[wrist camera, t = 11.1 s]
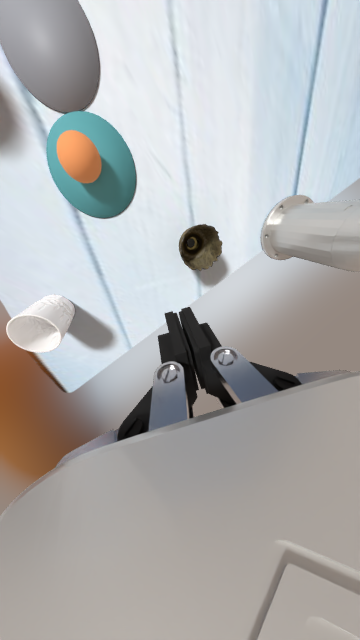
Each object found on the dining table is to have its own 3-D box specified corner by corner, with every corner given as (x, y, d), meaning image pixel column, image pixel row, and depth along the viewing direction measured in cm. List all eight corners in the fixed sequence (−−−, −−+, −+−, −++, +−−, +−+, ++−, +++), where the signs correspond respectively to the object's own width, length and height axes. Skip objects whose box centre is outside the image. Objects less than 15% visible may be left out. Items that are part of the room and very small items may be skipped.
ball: (110, 181, 26) (107, 170, 29) (86, 127, 21) (85, 120, 24) (75, 194, 26) (75, 182, 29) (43, 143, 21) (48, 134, 24)
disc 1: (72, -44, 19) (72, -46, 19) (112, 105, 25) (111, 104, 25) (-32, -31, 18) (-34, -33, 18) (34, 119, 24) (33, 118, 24)
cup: (212, 251, 38) (227, 259, 32) (182, 267, 39) (190, 278, 32) (200, 215, 34) (215, 215, 28) (167, 233, 35) (173, 237, 28)
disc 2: (119, 103, 25) (118, 103, 25) (145, 209, 32) (145, 209, 32) (26, 120, 24) (26, 120, 24) (74, 224, 31) (74, 224, 31)
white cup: (49, 327, 40) (24, 356, 32) (28, 295, 36) (-6, 320, 27) (84, 319, 41) (69, 346, 32) (68, 288, 36) (46, 310, 28)
